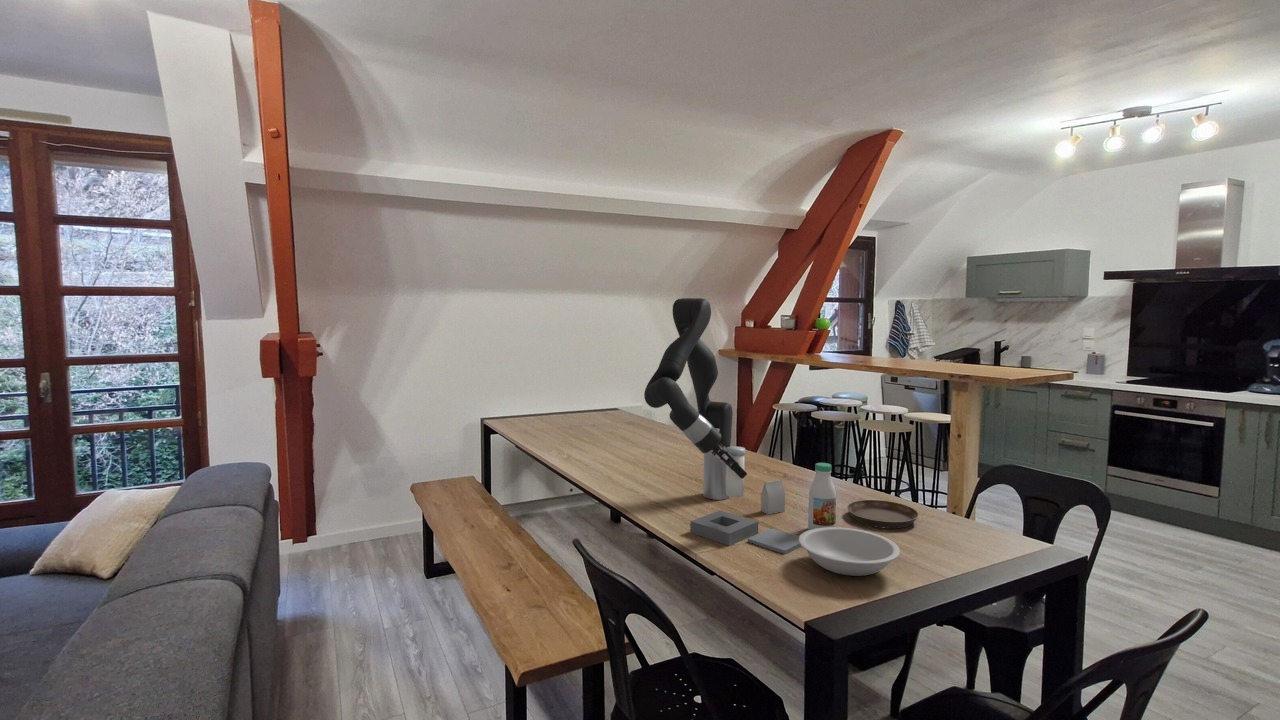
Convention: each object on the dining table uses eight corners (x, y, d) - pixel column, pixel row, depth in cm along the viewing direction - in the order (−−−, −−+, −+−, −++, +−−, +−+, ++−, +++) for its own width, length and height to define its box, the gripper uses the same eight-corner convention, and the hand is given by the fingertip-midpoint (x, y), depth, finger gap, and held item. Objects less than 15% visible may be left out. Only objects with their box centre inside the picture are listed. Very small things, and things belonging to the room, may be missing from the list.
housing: (719, 521, 188) (720, 510, 188) (758, 533, 178) (758, 521, 178) (690, 532, 178) (690, 521, 178) (729, 545, 168) (729, 533, 168)
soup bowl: (921, 583, 145) (922, 556, 145) (833, 596, 139) (834, 568, 138) (858, 546, 168) (859, 523, 168) (780, 556, 162) (781, 531, 161)
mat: (771, 531, 180) (771, 528, 180) (808, 542, 171) (808, 538, 171) (747, 542, 171) (747, 538, 171) (785, 554, 163) (785, 550, 163)
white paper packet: (784, 511, 198) (785, 481, 197) (768, 514, 195) (768, 483, 194) (777, 508, 201) (778, 478, 200) (760, 511, 198) (761, 481, 197)
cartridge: (733, 490, 180) (733, 445, 178) (748, 494, 176) (749, 448, 175) (721, 494, 176) (722, 448, 175) (736, 498, 172) (737, 451, 171)
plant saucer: (882, 535, 177) (882, 524, 177) (832, 514, 196) (833, 504, 196) (933, 525, 186) (933, 515, 185) (881, 506, 204) (881, 496, 204)
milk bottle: (803, 531, 180) (804, 464, 179) (815, 524, 186) (817, 459, 184) (827, 537, 175) (829, 468, 173) (839, 530, 180) (841, 464, 179)
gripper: (716, 428, 166) (758, 470, 168) (705, 419, 180) (744, 458, 183) (697, 447, 166) (739, 490, 168) (687, 437, 180) (726, 476, 182)
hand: (741, 473), depth 175 cm, fingers closed on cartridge, 5 cm apart
